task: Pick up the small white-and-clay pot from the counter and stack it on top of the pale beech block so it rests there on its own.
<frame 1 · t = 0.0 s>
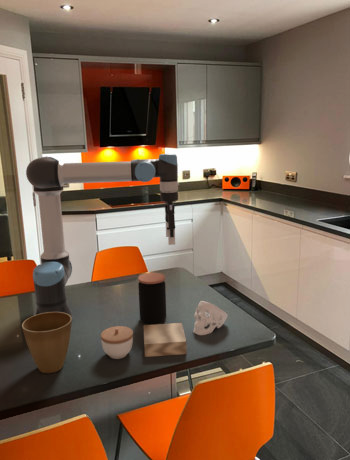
hand: (170, 240, 173), 28 cm above the table, tool pointing down, fingers open, 13 cm apart
lidded jar: (118, 354, 136), on the table
beech block: (164, 346, 142), on the table
coffee jar: (153, 320, 162), on the table
skull bowl: (209, 328, 154), on the table
plant pot: (51, 367, 129), on the table
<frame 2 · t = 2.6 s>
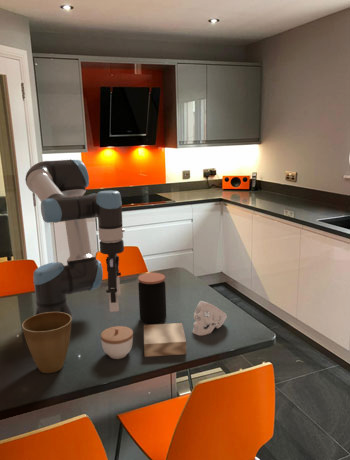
hand: (115, 302, 132), 19 cm above the table, tool pointing down, fingers open, 13 cm apart
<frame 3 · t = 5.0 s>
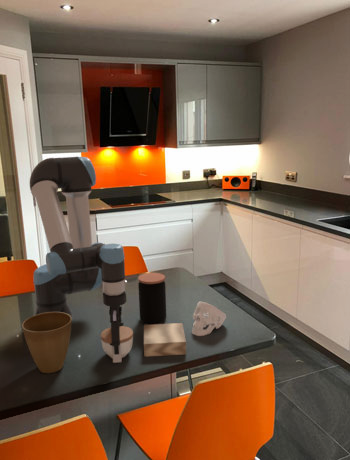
hand: (118, 352, 136), 0 cm above the table, tool pointing down, fingers closed on lidded jar, 11 cm apart
lidded jar: (118, 354, 136), on the table, touching gripper
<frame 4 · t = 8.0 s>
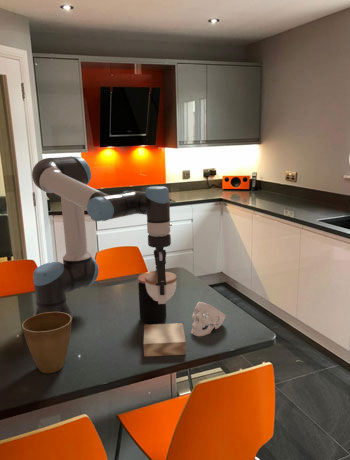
hand: (161, 296, 137), 18 cm above the table, tool pointing down, fingers closed on lidded jar, 11 cm apart
lidded jar: (161, 298, 137), point 18 cm above the table, touching gripper
when the fingers open (7 cm above the table, at t = 11.1 s): lidded jar drops 2 cm, point 4 cm above the table.
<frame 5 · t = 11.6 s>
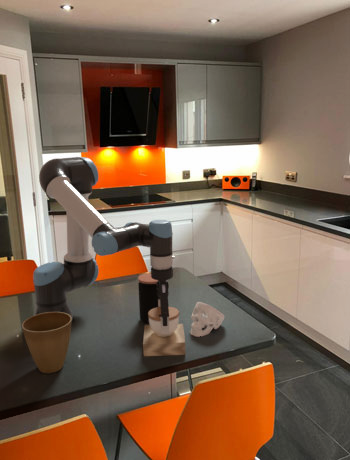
hand: (163, 324, 140), 8 cm above the table, tool pointing down, fingers open, 13 cm apart
lidded jar: (164, 333, 141), point 4 cm above the table
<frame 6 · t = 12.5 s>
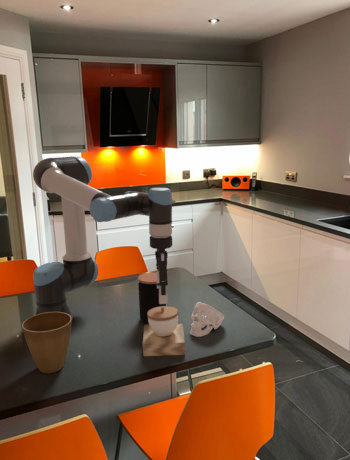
hand: (161, 295, 138), 18 cm above the table, tool pointing down, fingers open, 13 cm apart
lidded jar: (164, 333, 141), point 4 cm above the table, touching beech block
beech block: (164, 346, 142), on the table, touching lidded jar
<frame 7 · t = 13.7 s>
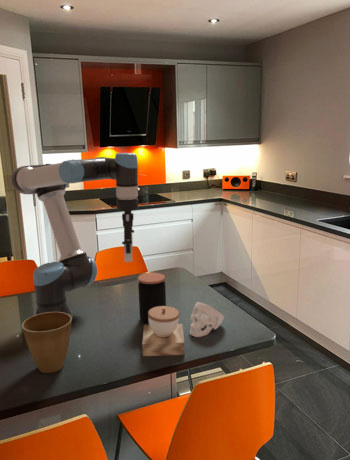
hand: (128, 255, 146), 30 cm above the table, tool pointing down, fingers open, 13 cm apart
lidded jar: (163, 333, 140), point 4 cm above the table
beech block: (163, 346, 142), on the table
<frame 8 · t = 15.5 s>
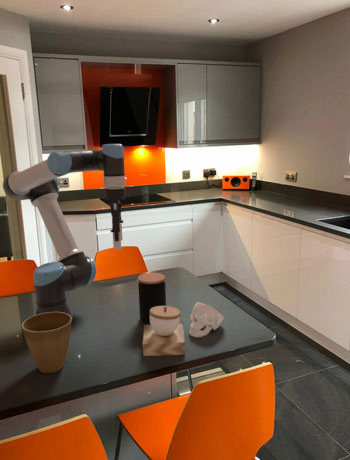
hand: (118, 244, 149), 33 cm above the table, tool pointing down, fingers open, 13 cm apart
lidded jar: (163, 332, 140), point 5 cm above the table, touching beech block
beech block: (164, 346, 142), on the table, touching lidded jar
at the end: lidded jar inside the target area on the beech block (0.1 cm from its centre), point 5.3 cm above the beech block's base; lidded jar tilted 7°; the gripper is holding nothing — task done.
